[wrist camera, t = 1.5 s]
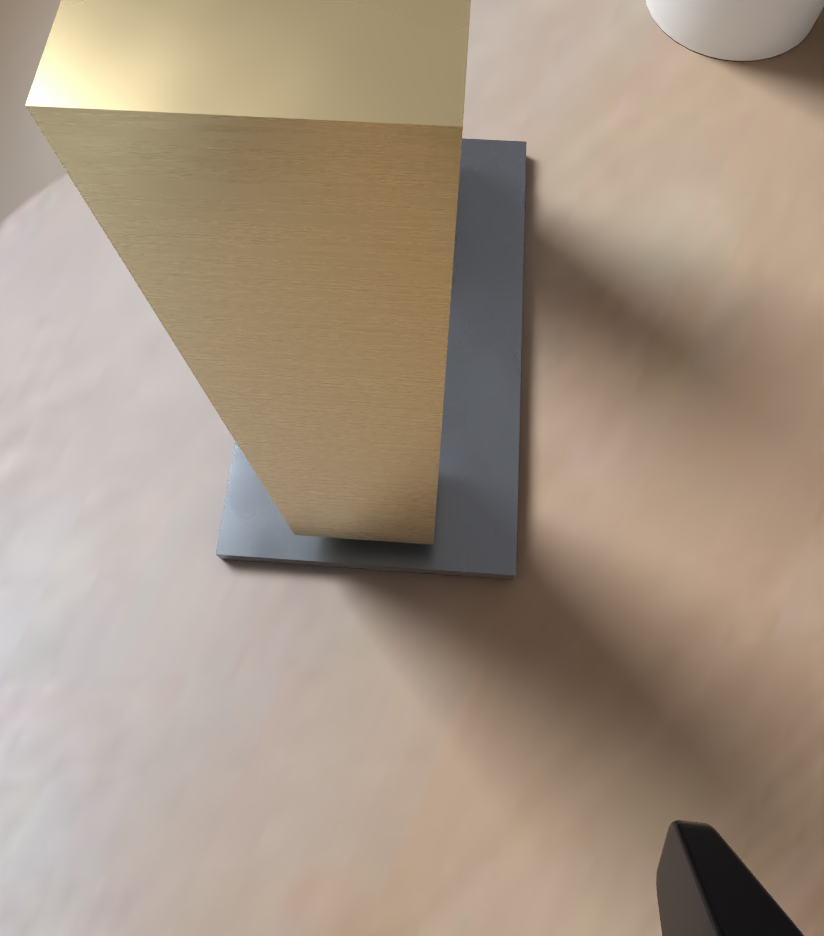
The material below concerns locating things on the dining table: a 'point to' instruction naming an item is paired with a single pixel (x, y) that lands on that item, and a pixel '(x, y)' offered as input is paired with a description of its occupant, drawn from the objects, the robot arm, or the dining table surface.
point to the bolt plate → (464, 407)
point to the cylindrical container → (736, 25)
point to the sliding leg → (284, 223)
